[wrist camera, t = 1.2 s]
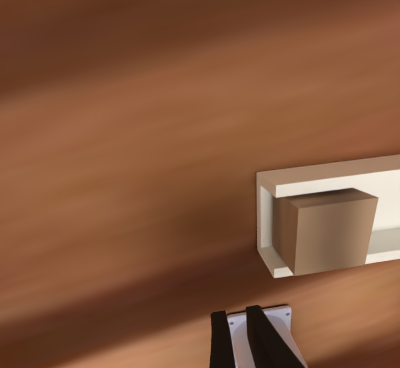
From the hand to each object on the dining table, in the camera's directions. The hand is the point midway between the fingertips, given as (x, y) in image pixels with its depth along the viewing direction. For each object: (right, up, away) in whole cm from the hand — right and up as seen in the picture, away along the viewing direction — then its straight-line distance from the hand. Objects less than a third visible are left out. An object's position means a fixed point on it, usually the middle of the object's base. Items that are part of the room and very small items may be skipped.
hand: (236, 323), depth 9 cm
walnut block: (+8, +4, +9) cm, 13 cm away
